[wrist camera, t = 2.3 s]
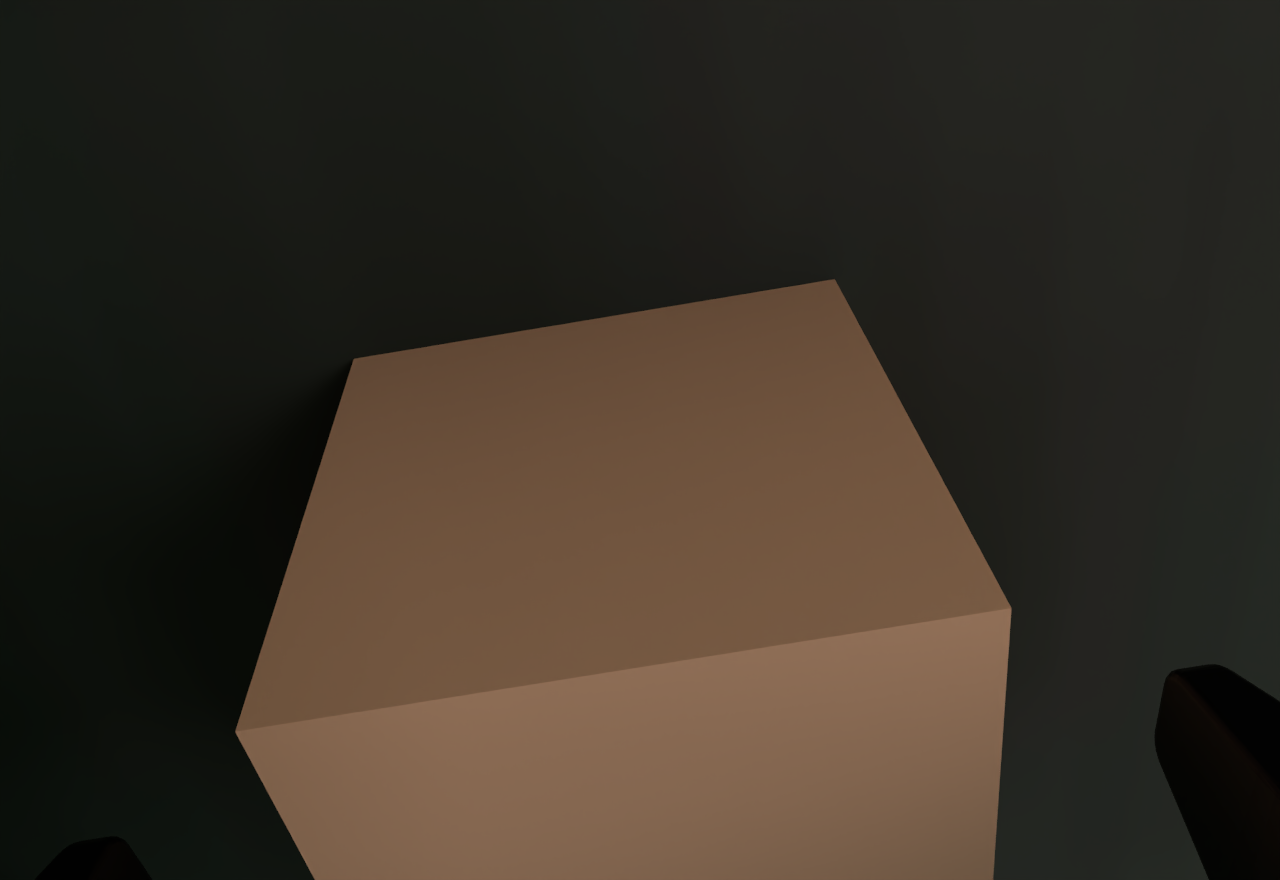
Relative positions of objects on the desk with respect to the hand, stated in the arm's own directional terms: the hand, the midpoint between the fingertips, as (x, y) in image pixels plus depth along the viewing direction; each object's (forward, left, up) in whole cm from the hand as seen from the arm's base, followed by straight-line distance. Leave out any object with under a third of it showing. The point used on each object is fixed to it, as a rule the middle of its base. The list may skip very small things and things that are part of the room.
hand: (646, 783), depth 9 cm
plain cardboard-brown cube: (0, 0, -4) cm, 4 cm away
